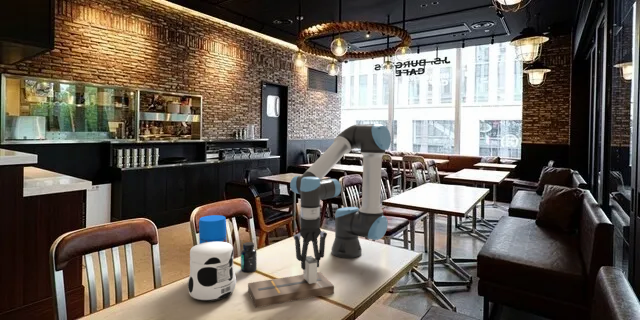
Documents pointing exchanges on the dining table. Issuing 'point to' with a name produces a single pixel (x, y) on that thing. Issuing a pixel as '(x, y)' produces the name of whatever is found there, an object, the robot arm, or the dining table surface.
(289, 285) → the wooden slotted board
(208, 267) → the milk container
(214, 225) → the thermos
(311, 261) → the fader
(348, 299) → the dining table surface
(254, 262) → the supplement bottle
